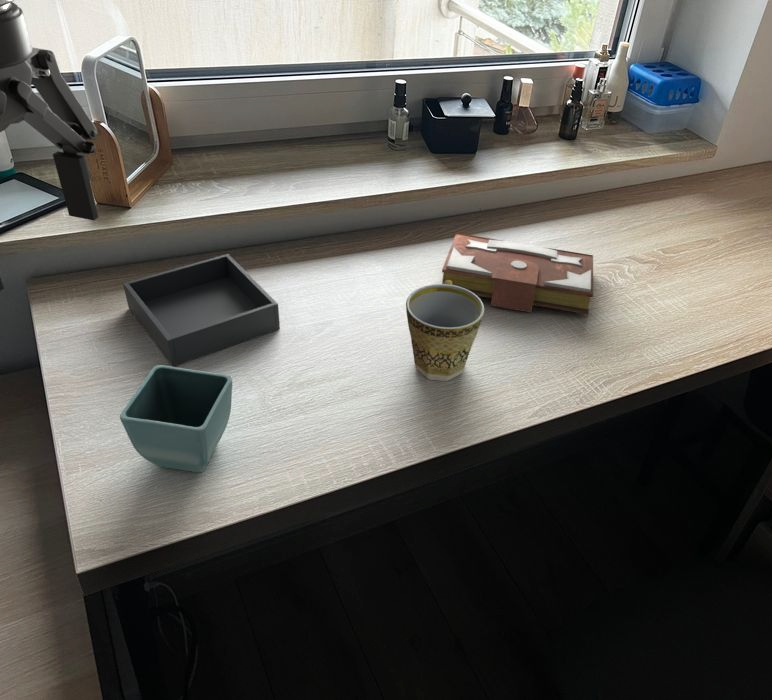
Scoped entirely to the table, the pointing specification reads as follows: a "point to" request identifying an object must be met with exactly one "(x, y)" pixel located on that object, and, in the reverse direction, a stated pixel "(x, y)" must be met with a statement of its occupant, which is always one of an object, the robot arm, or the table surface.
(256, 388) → the table surface
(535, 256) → the book
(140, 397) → the flower pot
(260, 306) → the tote
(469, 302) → the ceramic cup
